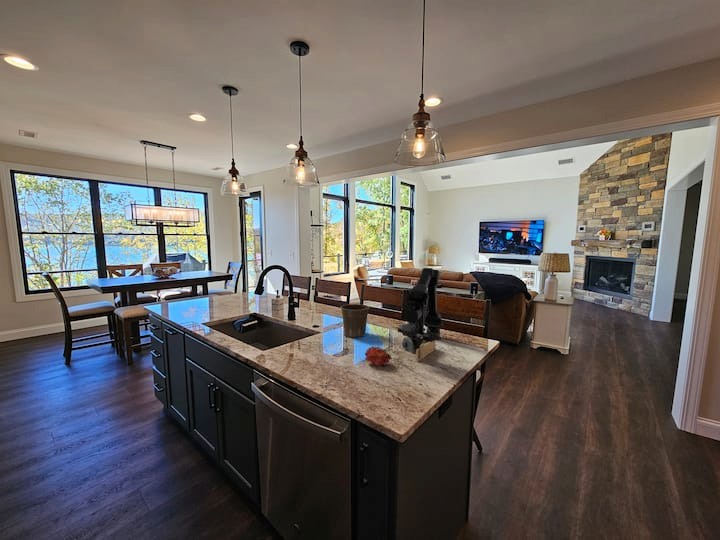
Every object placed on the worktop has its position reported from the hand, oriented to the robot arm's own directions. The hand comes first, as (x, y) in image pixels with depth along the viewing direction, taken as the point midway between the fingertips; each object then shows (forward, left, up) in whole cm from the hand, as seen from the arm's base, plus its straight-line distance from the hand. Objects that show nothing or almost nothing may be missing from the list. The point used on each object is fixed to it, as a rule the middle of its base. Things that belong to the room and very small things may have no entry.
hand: (416, 351), depth 133 cm
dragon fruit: (+19, -1, -4) cm, 19 cm away
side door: (-7, -1, -3) cm, 7 cm away
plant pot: (+12, -43, -4) cm, 45 cm away
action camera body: (-8, -10, -4) cm, 14 cm away
